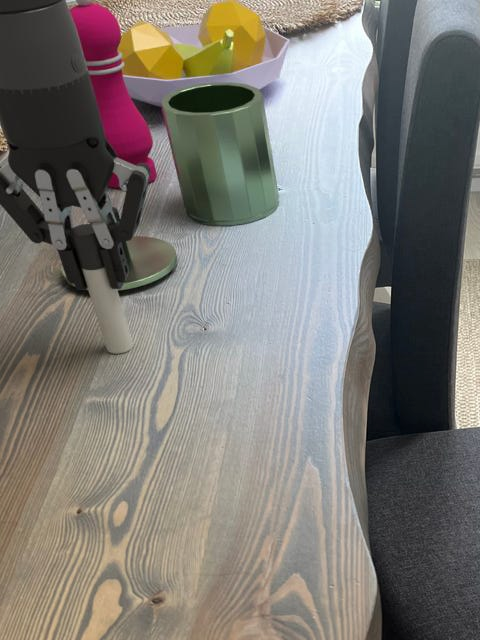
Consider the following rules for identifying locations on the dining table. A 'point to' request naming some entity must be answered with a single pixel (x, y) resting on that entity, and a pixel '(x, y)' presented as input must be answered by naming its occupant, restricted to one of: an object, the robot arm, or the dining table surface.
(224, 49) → the fruit bowl
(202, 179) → the canister
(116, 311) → the marker
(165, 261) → the canister lid
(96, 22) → the pepper mill
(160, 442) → the dining table surface
